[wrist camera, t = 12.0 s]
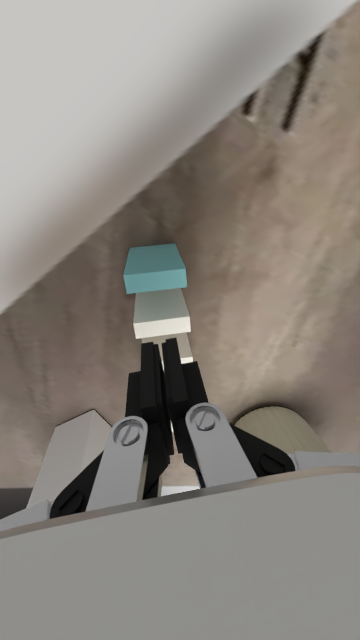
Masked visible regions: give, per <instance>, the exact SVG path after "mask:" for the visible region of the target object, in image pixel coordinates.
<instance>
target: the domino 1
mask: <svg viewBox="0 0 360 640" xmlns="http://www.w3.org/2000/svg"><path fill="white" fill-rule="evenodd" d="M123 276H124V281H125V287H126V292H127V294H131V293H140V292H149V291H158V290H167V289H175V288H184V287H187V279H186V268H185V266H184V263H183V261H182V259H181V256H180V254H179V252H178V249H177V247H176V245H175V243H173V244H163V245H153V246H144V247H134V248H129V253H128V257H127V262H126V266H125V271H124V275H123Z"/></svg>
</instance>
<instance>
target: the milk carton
mask: <svg viewBox="0 0 360 640" xmlns="http://www.w3.org/2000/svg"><path fill="white" fill-rule="evenodd" d="M111 428H112V427H111V426H110V425H109V424H108V423H107V422H106V421H105V420H104V419H103V418H102V417H101V416H100V415H99V414H98V413H97V412H96V411H95V410H92V411H89V412H87V413H85V414H83V415H81V416H78V417H76V418H74V419H72V420H70V421H67V422H65V423H63V424H61V425H59V426H57V427H55V430H54V433H53V435H52V438H51V441H50V444H49V446H48V449H47V452H46V455H45V458H44V460H43V463H42V466H41V469H40V472H39V474H38V477H37V480H36V483H35V485H34V488H33V491H32V494H31V497H30V499H29V502H28V505H27V508H29V507H31V506H33V505H36V504H38V503H40V502H43V501H45V500H47V499H48V500H49V501H50V502H51V501H53V500H55V499H56V497H57V496H58V495H59V494H60V493H61V491H62V490H63V489H64V488H65V487H66V486H67V485H69V484H70V483H71V482H72V481H73V480H74V479H75V478H76V477H77V476H78V475H79V474H80V473H81V472H82V471H83V470H84V469H85V468H86V467H87V466H88V465H89V464H90V463H91V462H92V461H93V460H94V459H95V458H96V457H97V456H98V455H99V454H100V453H101V452H102V451H103V450H104V449H105V446H106V442H107V439H108V436H109V433H110V431H111Z"/></svg>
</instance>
